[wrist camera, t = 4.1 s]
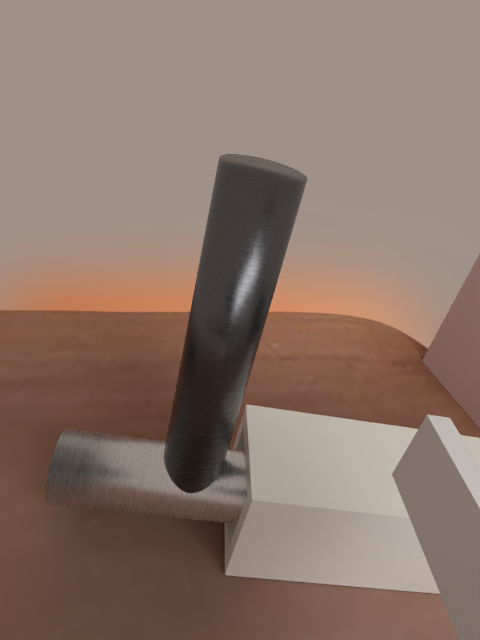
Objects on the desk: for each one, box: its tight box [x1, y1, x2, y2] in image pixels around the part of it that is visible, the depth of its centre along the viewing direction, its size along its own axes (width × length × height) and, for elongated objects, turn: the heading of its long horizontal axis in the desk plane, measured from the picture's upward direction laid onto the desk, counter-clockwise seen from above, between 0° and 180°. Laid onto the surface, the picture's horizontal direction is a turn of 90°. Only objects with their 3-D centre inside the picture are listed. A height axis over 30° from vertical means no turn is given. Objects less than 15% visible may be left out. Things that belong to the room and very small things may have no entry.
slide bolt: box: [46, 154, 307, 524], centre depth 20 cm, size 26×4×18 cm, turn 92°
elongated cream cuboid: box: [225, 404, 480, 594], centre depth 25 cm, size 20×6×6 cm, turn 92°
